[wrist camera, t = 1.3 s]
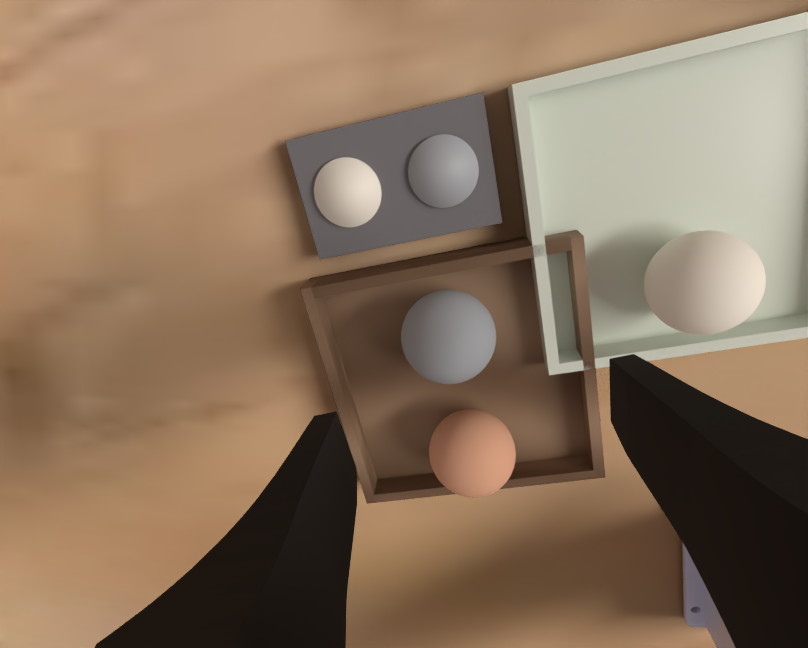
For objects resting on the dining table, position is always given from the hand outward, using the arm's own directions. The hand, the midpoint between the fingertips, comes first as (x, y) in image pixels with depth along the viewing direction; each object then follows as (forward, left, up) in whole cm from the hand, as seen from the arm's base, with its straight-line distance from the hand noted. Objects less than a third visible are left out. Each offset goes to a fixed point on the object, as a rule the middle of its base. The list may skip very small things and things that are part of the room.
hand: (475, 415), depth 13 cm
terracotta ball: (-7, +1, -10) cm, 12 cm away
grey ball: (-1, +1, -10) cm, 10 cm away
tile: (+5, +2, -10) cm, 12 cm away
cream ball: (-1, -9, -10) cm, 13 cm away
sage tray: (+2, -9, -10) cm, 14 cm away
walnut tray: (-4, +1, -10) cm, 11 cm away
